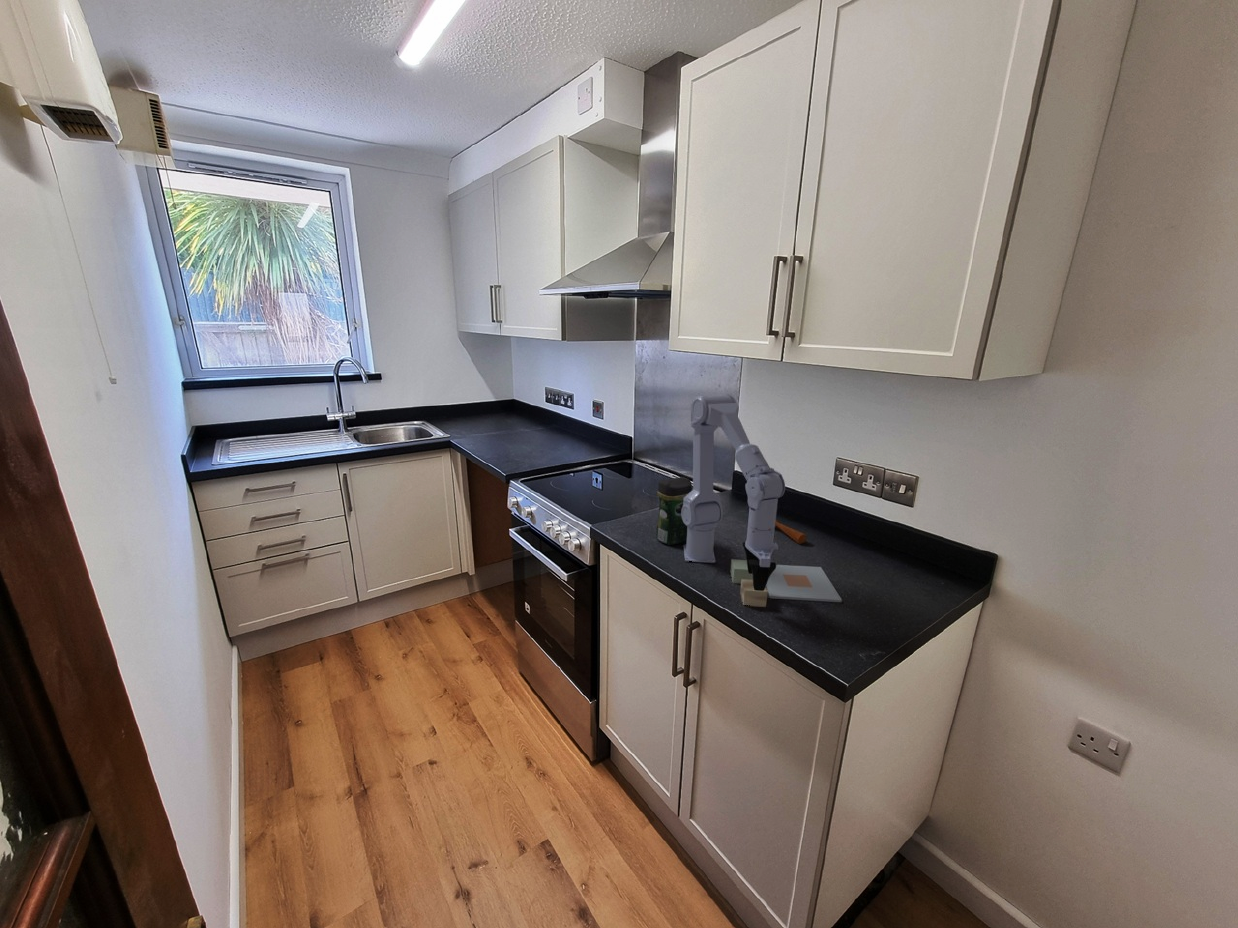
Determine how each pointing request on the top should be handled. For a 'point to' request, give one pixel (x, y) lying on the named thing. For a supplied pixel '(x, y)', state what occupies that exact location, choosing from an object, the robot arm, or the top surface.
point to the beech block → (752, 594)
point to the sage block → (739, 571)
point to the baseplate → (801, 584)
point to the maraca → (792, 533)
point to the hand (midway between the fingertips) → (755, 581)
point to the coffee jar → (672, 510)
